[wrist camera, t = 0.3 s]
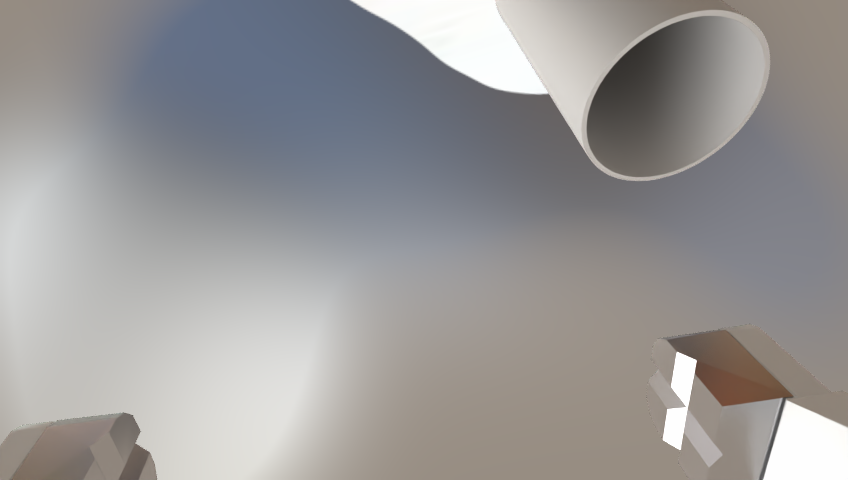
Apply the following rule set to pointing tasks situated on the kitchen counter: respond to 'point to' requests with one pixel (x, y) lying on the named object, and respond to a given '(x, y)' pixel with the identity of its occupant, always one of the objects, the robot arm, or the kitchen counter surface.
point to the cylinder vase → (644, 76)
